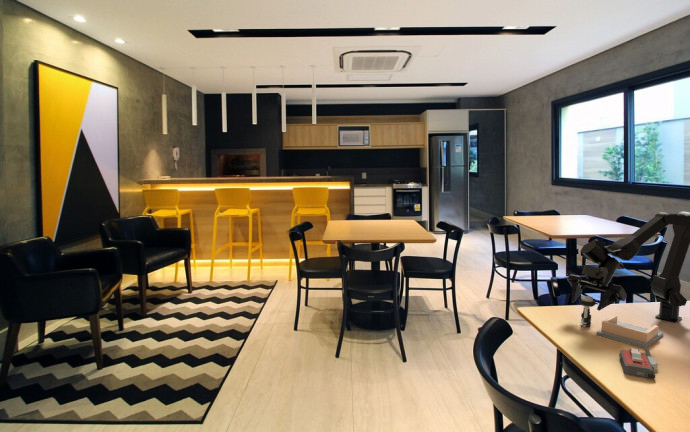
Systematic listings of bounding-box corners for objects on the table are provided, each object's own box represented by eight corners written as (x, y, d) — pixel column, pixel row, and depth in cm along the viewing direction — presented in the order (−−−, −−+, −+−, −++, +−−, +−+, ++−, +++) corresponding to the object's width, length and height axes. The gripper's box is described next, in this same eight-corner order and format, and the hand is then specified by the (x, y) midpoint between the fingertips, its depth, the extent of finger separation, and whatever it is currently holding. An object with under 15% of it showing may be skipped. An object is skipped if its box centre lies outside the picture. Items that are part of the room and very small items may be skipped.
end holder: (615, 323, 151) (616, 312, 151) (663, 335, 140) (664, 323, 139) (596, 334, 141) (597, 322, 141) (645, 348, 130) (646, 335, 130)
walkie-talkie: (664, 384, 110) (650, 354, 127) (665, 368, 109) (651, 340, 127) (623, 377, 114) (615, 348, 131) (625, 361, 113) (616, 335, 131)
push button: (592, 329, 145) (594, 301, 144) (575, 326, 149) (576, 298, 148) (595, 324, 151) (597, 296, 149) (578, 320, 154) (580, 294, 153)
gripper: (571, 252, 157) (550, 286, 153) (624, 262, 141) (603, 300, 137) (582, 271, 162) (563, 303, 158) (635, 282, 146) (615, 319, 142)
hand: (584, 306), depth 148 cm, fingers open, 9 cm apart
